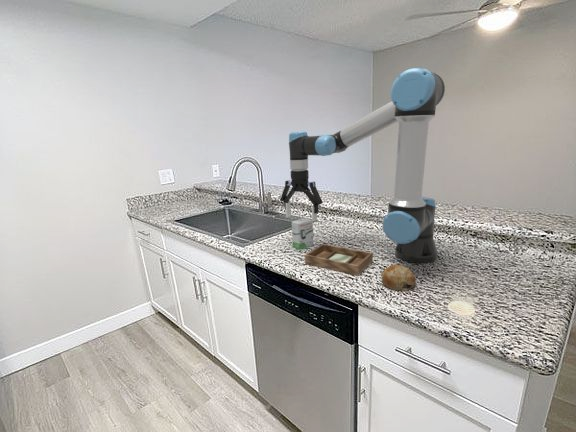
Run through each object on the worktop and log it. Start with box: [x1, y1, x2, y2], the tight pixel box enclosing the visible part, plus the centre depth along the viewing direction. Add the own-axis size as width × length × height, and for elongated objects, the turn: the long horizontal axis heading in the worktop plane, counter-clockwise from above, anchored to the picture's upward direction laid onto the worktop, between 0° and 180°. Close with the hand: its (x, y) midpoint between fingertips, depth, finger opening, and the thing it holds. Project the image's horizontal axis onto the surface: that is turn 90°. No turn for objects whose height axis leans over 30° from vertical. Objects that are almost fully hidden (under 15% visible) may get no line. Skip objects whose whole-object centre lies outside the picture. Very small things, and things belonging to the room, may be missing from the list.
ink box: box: [291, 217, 314, 250], centre depth 134 cm, size 9×5×12 cm, turn 128°
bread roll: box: [380, 264, 417, 292], centre depth 97 cm, size 10×10×8 cm
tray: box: [304, 243, 374, 277], centre depth 116 cm, size 22×14×4 cm, turn 54°
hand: (301, 218), depth 133 cm, fingers open, 13 cm apart
